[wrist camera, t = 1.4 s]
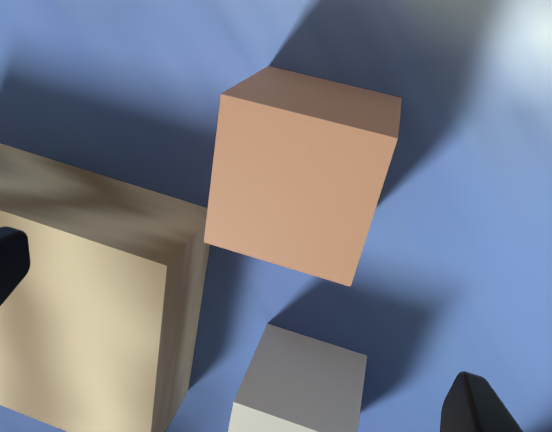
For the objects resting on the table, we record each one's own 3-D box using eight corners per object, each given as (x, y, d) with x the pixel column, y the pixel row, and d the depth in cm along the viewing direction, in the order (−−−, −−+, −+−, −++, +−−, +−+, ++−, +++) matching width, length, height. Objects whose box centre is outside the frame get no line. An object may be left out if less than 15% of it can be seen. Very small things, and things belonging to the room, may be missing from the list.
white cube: (367, 354, 22) (355, 445, 18) (342, 421, 25) (327, 516, 20) (267, 322, 23) (233, 401, 19) (252, 391, 25) (219, 475, 21)
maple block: (217, 207, 21) (167, 265, 17) (190, 386, 27) (147, 463, 23) (-12, 135, 23) (-113, 172, 18) (9, 319, 28) (-63, 379, 24)
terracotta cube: (402, 97, 17) (398, 138, 12) (365, 217, 19) (350, 286, 15) (269, 65, 17) (220, 93, 13) (249, 185, 20) (203, 242, 15)
